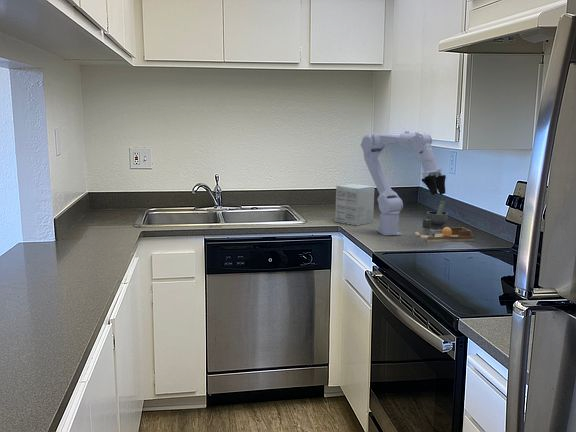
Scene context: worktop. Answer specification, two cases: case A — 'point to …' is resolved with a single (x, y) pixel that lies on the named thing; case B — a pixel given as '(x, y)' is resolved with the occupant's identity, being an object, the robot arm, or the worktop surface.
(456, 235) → the pitch
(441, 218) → the mortar and pestle
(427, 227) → the kicker
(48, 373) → the worktop surface
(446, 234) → the ball
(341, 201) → the supplement box
